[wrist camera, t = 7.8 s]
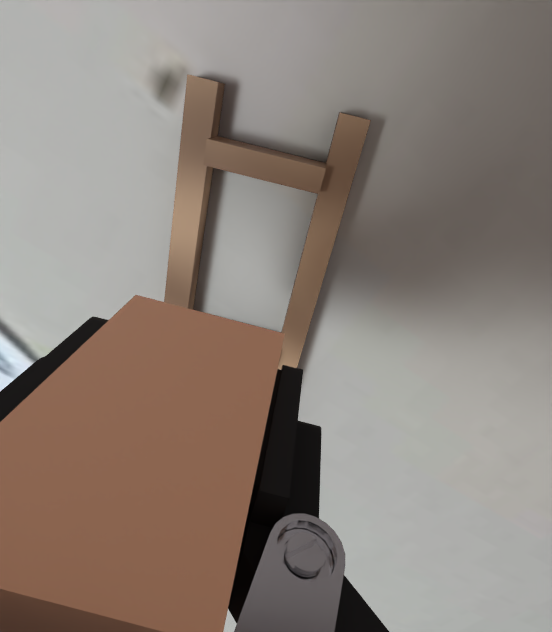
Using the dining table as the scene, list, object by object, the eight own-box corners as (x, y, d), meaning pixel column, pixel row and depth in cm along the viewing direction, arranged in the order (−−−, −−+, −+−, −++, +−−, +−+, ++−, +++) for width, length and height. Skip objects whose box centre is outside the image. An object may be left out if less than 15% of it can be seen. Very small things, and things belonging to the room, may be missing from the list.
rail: (196, 76, 17) (119, 57, 10) (368, 119, 17) (392, 126, 10) (145, 531, 31) (99, 639, 24) (239, 554, 31) (217, 668, 24)
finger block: (135, 295, 11) (-138, 551, 4) (284, 333, 11) (220, 646, 4) (125, 434, 13) (-64, 733, 7) (248, 467, 13) (170, 796, 7)
